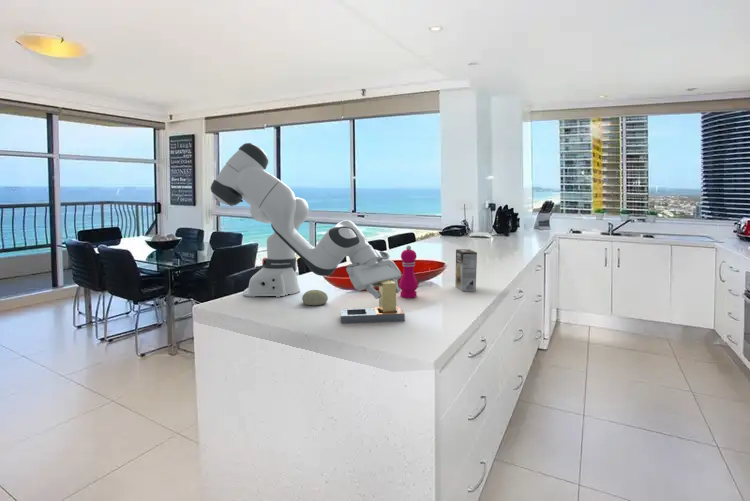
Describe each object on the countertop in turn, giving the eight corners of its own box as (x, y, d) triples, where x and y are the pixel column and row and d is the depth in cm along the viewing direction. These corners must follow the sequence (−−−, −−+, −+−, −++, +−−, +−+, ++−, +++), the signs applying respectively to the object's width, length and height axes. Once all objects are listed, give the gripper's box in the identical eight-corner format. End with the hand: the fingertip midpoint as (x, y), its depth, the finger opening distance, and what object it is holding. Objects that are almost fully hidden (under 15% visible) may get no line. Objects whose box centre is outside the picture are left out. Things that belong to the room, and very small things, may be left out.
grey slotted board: (341, 323, 136) (341, 315, 136) (340, 316, 144) (340, 308, 143) (404, 321, 138) (404, 313, 138) (400, 314, 146) (400, 306, 145)
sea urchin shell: (322, 302, 154) (308, 285, 155) (309, 316, 157) (294, 299, 158) (333, 296, 163) (320, 280, 164) (320, 309, 165) (307, 294, 166)
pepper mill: (416, 298, 166) (417, 246, 163) (397, 298, 167) (398, 246, 165) (418, 294, 173) (419, 244, 170) (400, 293, 174) (400, 244, 172)
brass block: (382, 320, 139) (382, 283, 137) (379, 316, 143) (379, 281, 141) (396, 319, 140) (396, 282, 138) (391, 315, 144) (391, 280, 142)
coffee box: (454, 286, 187) (455, 249, 184) (469, 286, 187) (470, 248, 185) (461, 291, 178) (462, 252, 176) (476, 290, 178) (477, 251, 176)
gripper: (348, 259, 136) (372, 294, 130) (390, 252, 151) (413, 283, 145) (339, 271, 139) (361, 306, 134) (381, 263, 154) (402, 294, 149)
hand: (388, 294), depth 140 cm, fingers open, 8 cm apart
